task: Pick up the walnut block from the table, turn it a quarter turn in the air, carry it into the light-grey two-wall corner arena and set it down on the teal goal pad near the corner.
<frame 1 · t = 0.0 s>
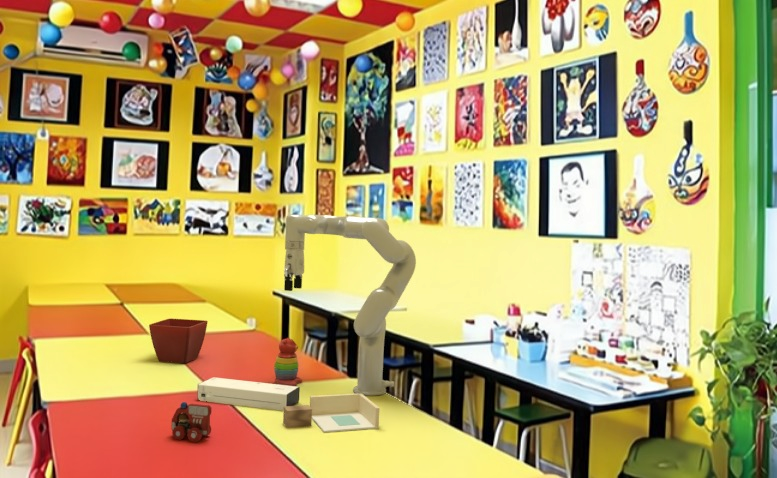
hand: (293, 289, 265), 37 cm above the table, tool pointing down, fingers open, 9 cm apart
stacking bear: (286, 383, 267), on the table
laminator: (247, 403, 238), on the table
toy fire truck: (191, 438, 199), on the table
block: (297, 424, 215), on the table
plant pot: (177, 360, 300), on the table
arena: (343, 421, 220), on the table
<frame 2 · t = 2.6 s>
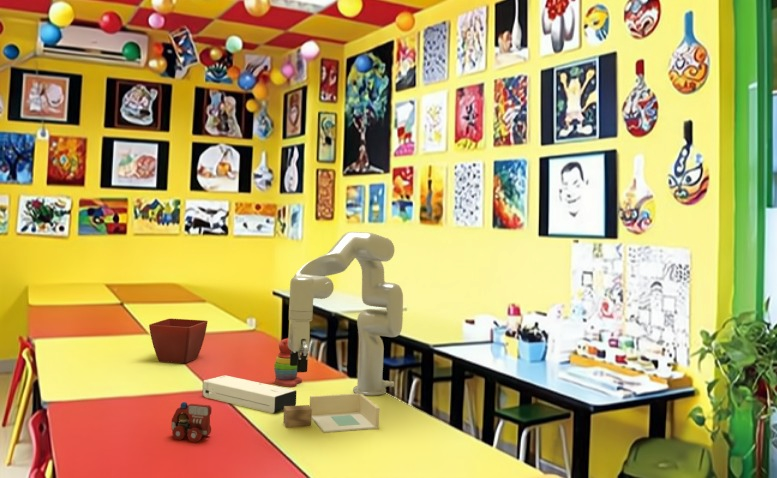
hand: (298, 368, 216), 17 cm above the table, tool pointing down, fingers open, 9 cm apart
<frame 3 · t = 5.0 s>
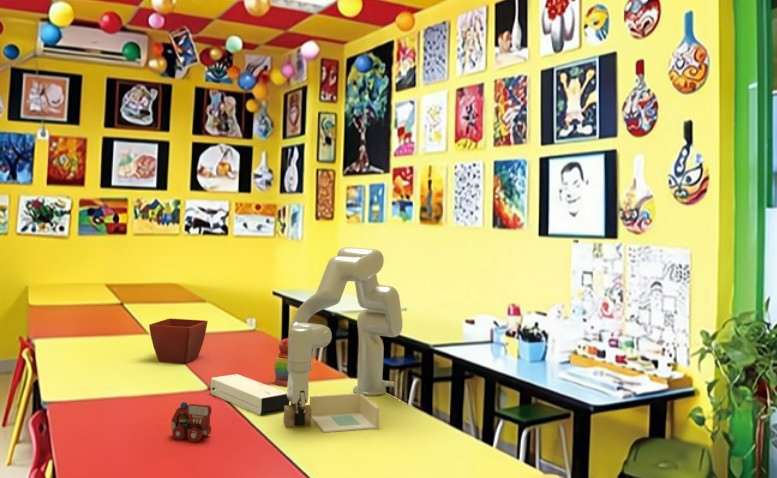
hand: (297, 421, 215), 1 cm above the table, tool pointing down, fingers closed on block, 5 cm apart
block: (297, 424, 215), on the table, touching gripper
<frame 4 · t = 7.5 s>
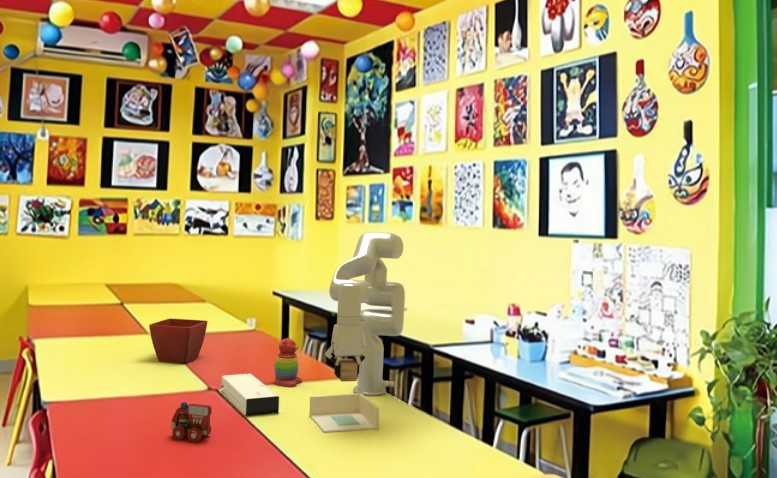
hand: (346, 375, 219), 15 cm above the table, tool pointing down, fingers closed on block, 5 cm apart
block: (346, 378, 219), point 14 cm above the table, touching gripper
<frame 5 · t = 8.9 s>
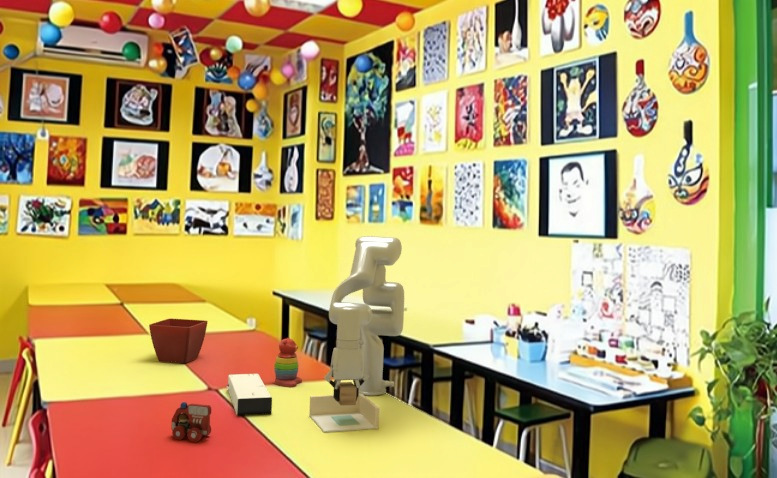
hand: (345, 399, 219), 8 cm above the table, tool pointing down, fingers closed on block, 5 cm apart
block: (345, 401, 219), point 7 cm above the table, touching gripper
when the fingers open (3 cm above the table, at t = 10.2 s): block drops 1 cm, resting on arena.
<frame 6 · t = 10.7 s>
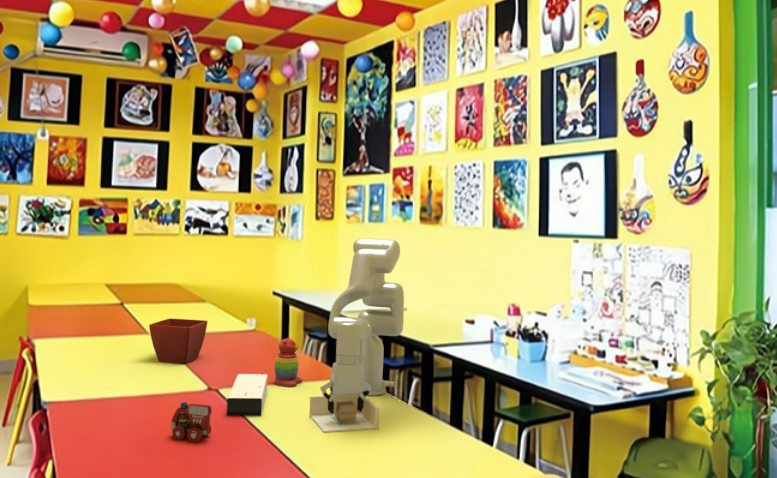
hand: (345, 411, 219), 4 cm above the table, tool pointing down, fingers open, 9 cm apart
block: (345, 420, 219), point 1 cm above the table, touching arena
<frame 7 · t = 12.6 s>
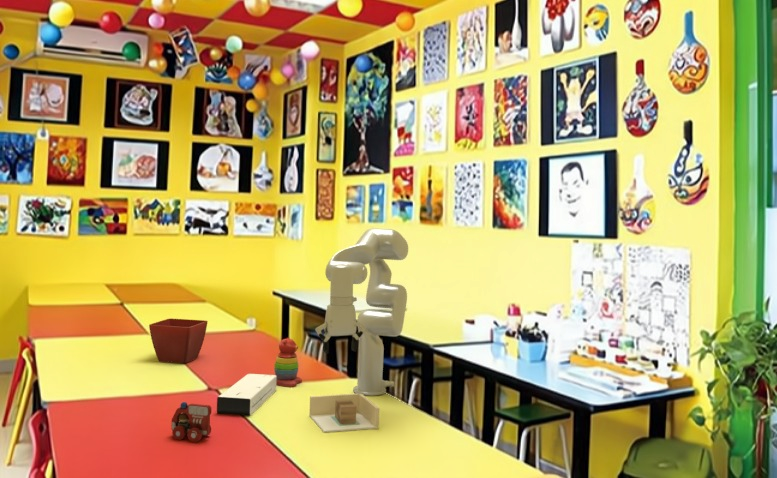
hand: (340, 351, 226), 21 cm above the table, tool pointing down, fingers open, 9 cm apart
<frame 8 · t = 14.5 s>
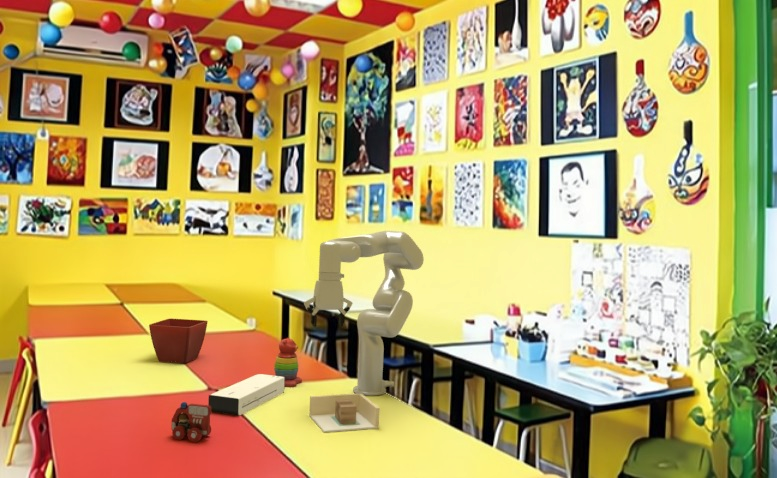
hand: (327, 325, 236), 28 cm above the table, tool pointing down, fingers open, 9 cm apart
at the end: block inside the target area on the arena (0.1 cm from its centre), point 0.7 cm above the arena's base; block tilted 0°; the gripper is holding nothing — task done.
